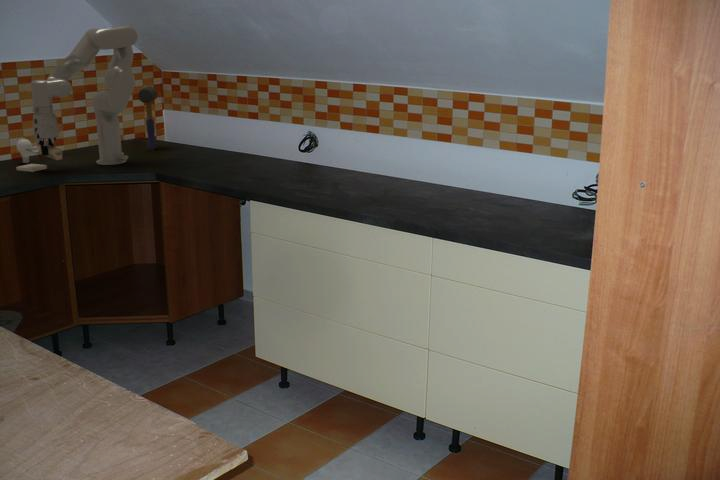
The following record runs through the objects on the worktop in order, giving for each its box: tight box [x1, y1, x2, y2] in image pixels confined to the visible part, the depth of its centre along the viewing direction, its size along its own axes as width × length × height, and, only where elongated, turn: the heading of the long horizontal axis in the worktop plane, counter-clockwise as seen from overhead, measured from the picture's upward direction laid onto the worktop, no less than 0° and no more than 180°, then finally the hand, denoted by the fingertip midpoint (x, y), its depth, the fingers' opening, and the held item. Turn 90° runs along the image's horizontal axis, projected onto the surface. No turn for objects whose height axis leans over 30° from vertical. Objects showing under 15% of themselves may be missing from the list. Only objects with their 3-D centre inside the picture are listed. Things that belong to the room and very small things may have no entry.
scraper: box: [25, 143, 64, 161], centre depth 341 cm, size 16×6×4 cm, turn 67°
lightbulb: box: [15, 138, 33, 165], centre depth 359 cm, size 6×6×11 cm
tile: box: [16, 163, 48, 173], centre depth 347 cm, size 2×8×9 cm
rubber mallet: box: [137, 86, 159, 151], centre depth 389 cm, size 12×8×30 cm, turn 1°
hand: (48, 154), depth 341 cm, fingers closed on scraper, 2 cm apart
